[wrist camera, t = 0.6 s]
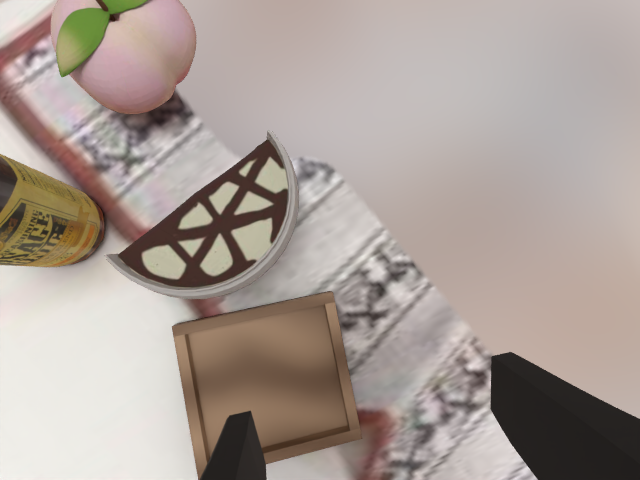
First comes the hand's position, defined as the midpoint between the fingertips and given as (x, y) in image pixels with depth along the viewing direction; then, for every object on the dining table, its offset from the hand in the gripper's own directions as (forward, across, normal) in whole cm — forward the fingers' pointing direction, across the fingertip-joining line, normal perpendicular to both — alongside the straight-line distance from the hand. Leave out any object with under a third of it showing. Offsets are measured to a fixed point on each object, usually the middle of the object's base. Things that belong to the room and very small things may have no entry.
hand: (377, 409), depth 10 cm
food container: (+21, +6, +1) cm, 21 cm away
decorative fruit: (+26, +10, -13) cm, 31 cm away
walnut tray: (+16, +5, +11) cm, 20 cm away
